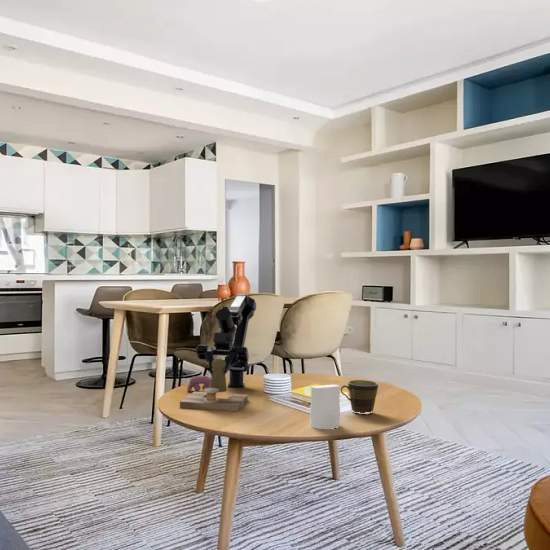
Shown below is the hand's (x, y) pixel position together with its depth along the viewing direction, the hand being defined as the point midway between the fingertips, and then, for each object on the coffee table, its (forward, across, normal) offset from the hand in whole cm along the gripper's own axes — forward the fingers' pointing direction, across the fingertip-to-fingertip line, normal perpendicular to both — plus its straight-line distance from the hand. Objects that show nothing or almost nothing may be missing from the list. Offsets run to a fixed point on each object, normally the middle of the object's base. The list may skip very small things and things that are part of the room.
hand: (217, 372), depth 191 cm
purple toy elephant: (-3, -11, +18) cm, 21 cm away
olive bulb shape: (+4, 0, +6) cm, 7 cm away
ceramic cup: (+9, +49, +6) cm, 51 cm away
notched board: (+9, 0, +5) cm, 11 cm away
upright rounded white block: (+22, +39, -7) cm, 46 cm away
